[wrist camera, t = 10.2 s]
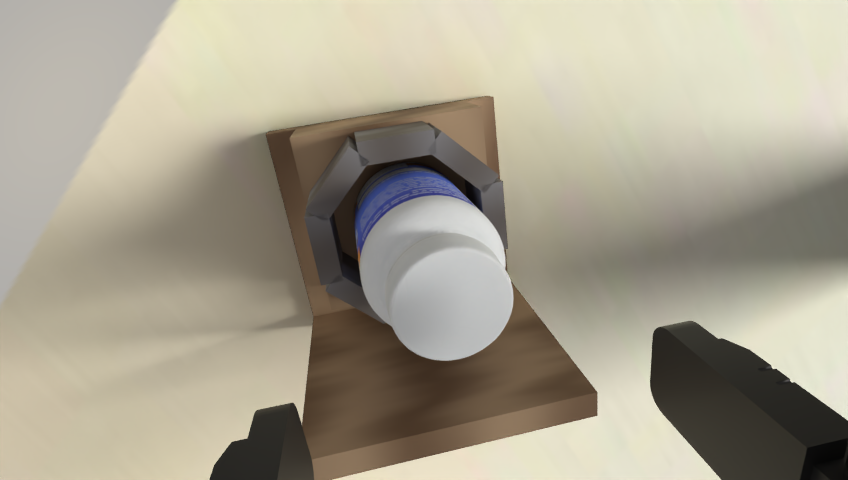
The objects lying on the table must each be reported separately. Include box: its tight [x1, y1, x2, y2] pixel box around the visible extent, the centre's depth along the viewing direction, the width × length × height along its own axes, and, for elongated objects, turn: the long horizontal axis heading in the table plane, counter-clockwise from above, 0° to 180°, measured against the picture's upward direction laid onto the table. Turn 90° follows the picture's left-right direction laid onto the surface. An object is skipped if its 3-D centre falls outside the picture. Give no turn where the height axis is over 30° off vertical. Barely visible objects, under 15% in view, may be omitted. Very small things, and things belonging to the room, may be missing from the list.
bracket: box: [266, 96, 597, 480], centre depth 22 cm, size 12×12×12 cm
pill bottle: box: [354, 162, 513, 361], centre depth 19 cm, size 5×5×10 cm
